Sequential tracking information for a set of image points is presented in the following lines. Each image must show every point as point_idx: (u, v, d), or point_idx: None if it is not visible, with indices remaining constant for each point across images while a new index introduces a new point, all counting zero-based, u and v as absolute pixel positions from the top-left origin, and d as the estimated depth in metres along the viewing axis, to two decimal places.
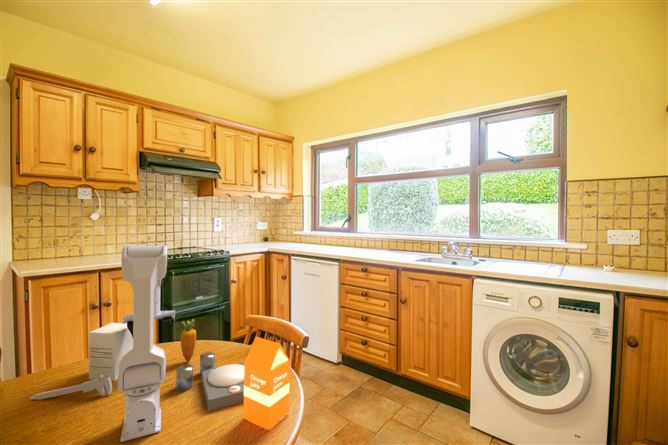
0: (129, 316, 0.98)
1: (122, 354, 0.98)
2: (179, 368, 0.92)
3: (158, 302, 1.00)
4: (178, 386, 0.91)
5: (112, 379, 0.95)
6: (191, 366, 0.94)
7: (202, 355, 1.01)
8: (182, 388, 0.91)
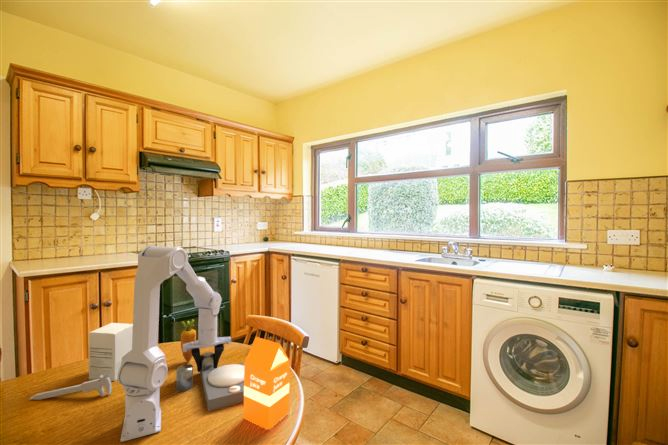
0: (188, 344, 0.98)
1: (122, 354, 0.98)
2: (179, 368, 0.92)
3: (216, 329, 1.01)
4: (178, 386, 0.91)
5: (112, 379, 0.95)
6: (191, 366, 0.94)
7: (202, 355, 1.01)
8: (182, 388, 0.91)
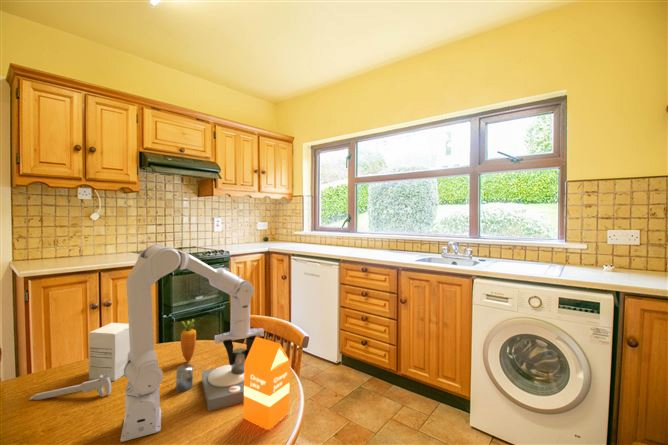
0: (221, 336, 0.92)
1: (122, 354, 0.98)
2: (179, 368, 0.92)
3: (249, 320, 0.95)
4: (178, 386, 0.91)
5: (112, 379, 0.95)
6: (191, 366, 0.94)
7: (234, 352, 0.95)
8: (182, 388, 0.91)
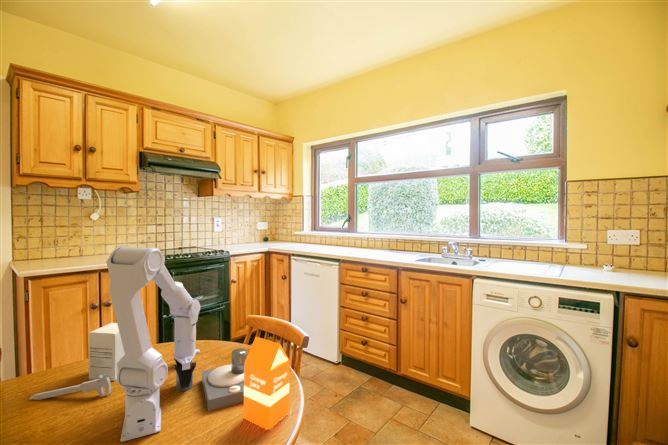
0: None
1: (122, 354, 0.98)
2: None
3: (179, 343, 0.90)
4: (179, 385, 0.91)
5: (112, 379, 0.95)
6: None
7: (234, 352, 0.95)
8: (182, 388, 0.91)
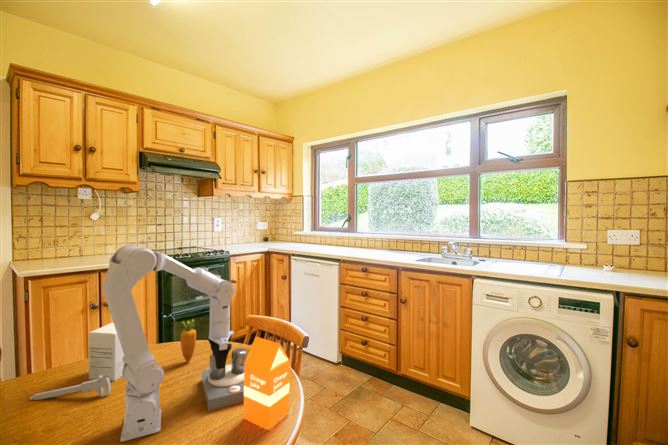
0: None
1: (122, 354, 0.98)
2: (212, 356, 0.92)
3: (215, 324, 0.89)
4: (211, 374, 0.90)
5: (112, 379, 0.95)
6: None
7: (234, 352, 0.95)
8: (215, 376, 0.90)
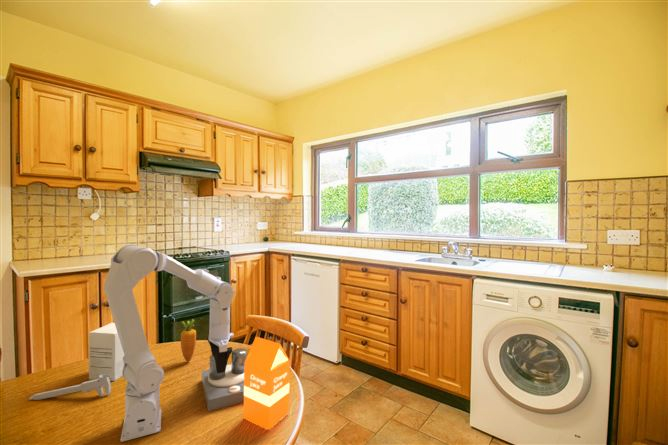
0: None
1: (122, 354, 0.98)
2: (212, 357, 0.92)
3: (215, 326, 0.89)
4: (211, 374, 0.90)
5: (112, 379, 0.95)
6: None
7: (234, 352, 0.95)
8: (215, 376, 0.90)
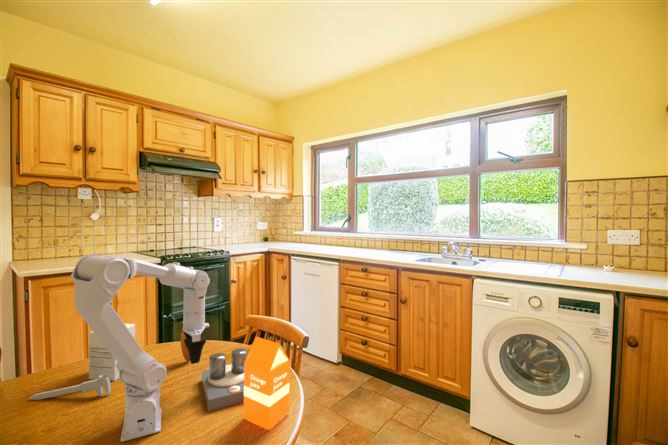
0: None
1: None
2: (212, 356, 0.92)
3: (189, 315, 0.87)
4: (211, 374, 0.90)
5: (112, 379, 0.95)
6: (224, 355, 0.93)
7: (234, 352, 0.95)
8: (215, 376, 0.90)
